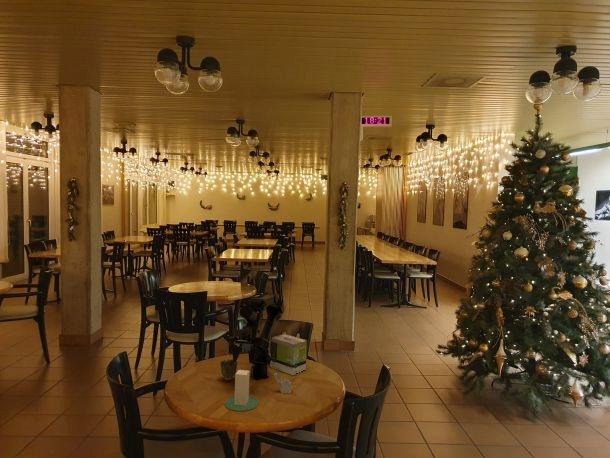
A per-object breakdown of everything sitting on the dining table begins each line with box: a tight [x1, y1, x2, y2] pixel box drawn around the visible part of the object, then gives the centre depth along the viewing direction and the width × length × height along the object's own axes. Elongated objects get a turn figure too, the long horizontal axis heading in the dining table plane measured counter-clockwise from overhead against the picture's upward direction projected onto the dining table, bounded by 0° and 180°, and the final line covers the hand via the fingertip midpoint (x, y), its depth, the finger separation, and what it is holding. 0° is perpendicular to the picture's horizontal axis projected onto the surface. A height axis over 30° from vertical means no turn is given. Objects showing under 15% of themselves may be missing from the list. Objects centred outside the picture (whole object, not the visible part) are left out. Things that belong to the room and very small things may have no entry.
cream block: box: [234, 369, 251, 406], centre depth 168 cm, size 4×4×12 cm
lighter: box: [273, 372, 292, 394], centre depth 180 cm, size 7×2×8 cm, turn 86°
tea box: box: [269, 333, 308, 376], centre depth 206 cm, size 15×10×15 cm
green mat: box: [224, 395, 260, 412], centre depth 168 cm, size 13×13×1 cm
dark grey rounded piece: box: [219, 358, 238, 382], centre depth 190 cm, size 8×7×8 cm
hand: (242, 362), depth 177 cm, fingers open, 9 cm apart
